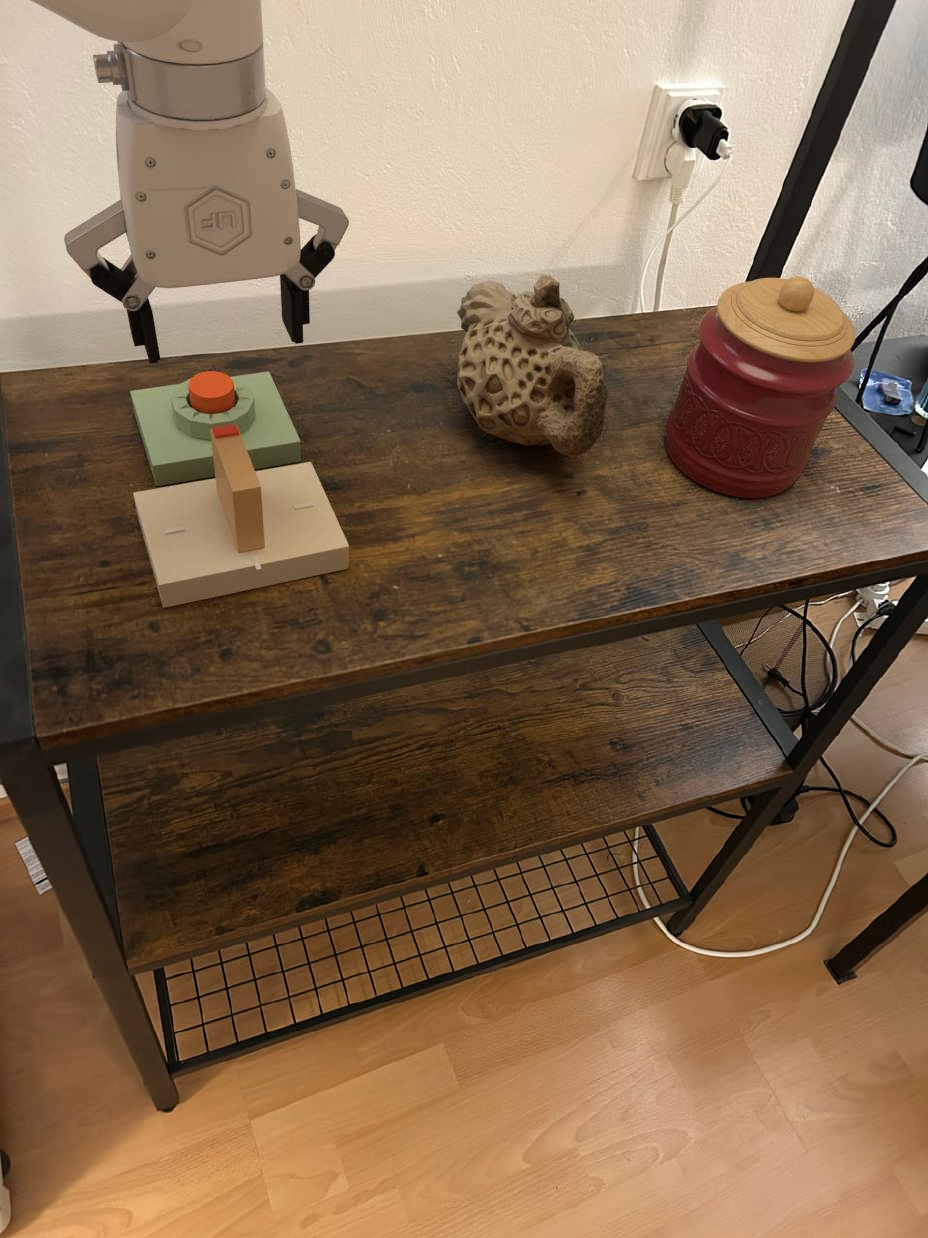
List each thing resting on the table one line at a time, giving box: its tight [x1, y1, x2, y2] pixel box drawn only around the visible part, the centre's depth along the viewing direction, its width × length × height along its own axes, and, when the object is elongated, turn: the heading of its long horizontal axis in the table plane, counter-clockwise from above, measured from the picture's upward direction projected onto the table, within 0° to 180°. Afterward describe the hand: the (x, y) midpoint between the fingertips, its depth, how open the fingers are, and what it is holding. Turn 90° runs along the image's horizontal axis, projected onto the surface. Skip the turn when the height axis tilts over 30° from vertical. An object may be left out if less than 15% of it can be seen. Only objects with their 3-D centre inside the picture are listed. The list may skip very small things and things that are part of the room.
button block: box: [129, 371, 302, 487], centre depth 81 cm, size 12×10×4 cm
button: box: [188, 370, 235, 414], centre depth 79 cm, size 4×4×2 cm
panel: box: [132, 461, 350, 609], centre depth 74 cm, size 14×11×3 cm
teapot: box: [456, 274, 609, 456], centre depth 82 cm, size 21×12×15 cm, turn 27°
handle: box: [210, 424, 265, 552], centre depth 71 cm, size 7×2×6 cm, turn 22°
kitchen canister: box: [664, 275, 856, 499], centre depth 83 cm, size 13×13×18 cm
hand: (223, 341), depth 66 cm, fingers open, 9 cm apart
